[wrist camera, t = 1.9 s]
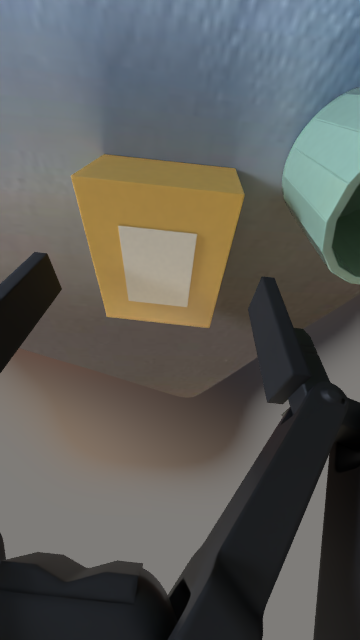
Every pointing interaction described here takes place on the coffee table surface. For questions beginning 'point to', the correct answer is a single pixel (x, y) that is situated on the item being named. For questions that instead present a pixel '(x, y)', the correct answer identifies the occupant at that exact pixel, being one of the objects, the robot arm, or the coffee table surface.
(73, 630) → the robot arm
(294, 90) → the coffee table surface
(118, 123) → the coffee table surface
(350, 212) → the cup
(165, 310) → the tea packet
